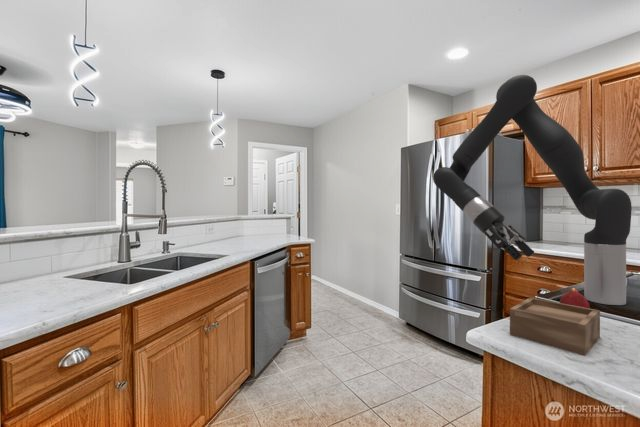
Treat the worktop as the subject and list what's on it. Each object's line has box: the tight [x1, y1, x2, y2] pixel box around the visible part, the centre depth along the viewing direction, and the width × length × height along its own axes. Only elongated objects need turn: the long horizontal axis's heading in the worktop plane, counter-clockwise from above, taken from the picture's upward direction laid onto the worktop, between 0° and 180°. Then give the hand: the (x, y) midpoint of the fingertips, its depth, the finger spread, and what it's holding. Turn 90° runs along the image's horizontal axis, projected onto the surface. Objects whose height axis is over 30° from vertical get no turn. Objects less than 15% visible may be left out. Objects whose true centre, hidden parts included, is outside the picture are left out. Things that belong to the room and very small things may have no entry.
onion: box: [559, 287, 591, 309], centre depth 78 cm, size 6×6×8 cm
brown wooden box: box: [509, 297, 601, 357], centre depth 68 cm, size 13×13×6 cm
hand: (525, 256), depth 86 cm, fingers open, 8 cm apart
